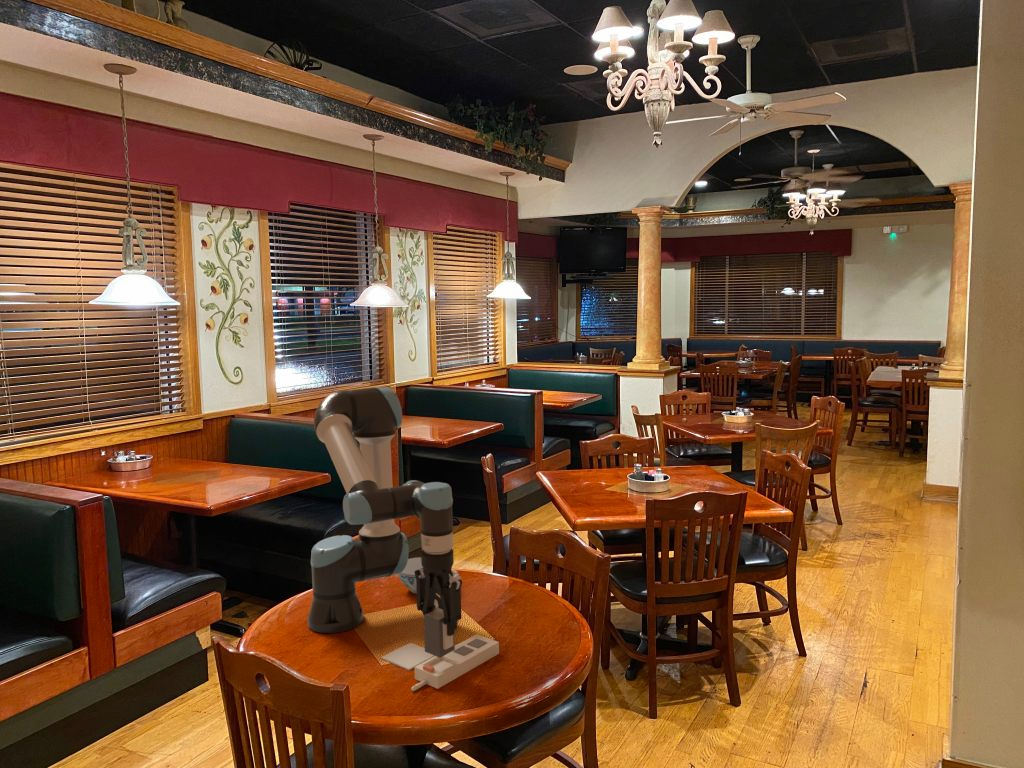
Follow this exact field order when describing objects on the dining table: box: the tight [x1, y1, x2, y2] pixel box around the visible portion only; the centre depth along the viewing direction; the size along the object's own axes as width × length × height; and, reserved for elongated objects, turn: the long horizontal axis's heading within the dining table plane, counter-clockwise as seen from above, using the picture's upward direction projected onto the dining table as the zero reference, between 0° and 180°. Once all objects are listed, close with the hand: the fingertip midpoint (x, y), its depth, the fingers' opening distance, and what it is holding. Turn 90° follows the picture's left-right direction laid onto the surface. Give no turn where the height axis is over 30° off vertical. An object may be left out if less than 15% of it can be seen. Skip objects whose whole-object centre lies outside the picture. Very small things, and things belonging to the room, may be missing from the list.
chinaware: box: [396, 556, 423, 595], centre depth 235 cm, size 15×15×8 cm
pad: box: [380, 642, 435, 671], centre depth 192 cm, size 10×10×1 cm
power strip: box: [411, 634, 500, 692], centre depth 184 cm, size 26×8×4 cm, turn 141°
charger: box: [423, 608, 456, 658], centre depth 181 cm, size 5×5×9 cm
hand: (439, 643), depth 181 cm, fingers closed on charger, 5 cm apart
